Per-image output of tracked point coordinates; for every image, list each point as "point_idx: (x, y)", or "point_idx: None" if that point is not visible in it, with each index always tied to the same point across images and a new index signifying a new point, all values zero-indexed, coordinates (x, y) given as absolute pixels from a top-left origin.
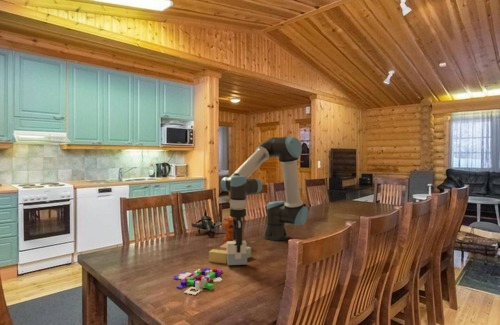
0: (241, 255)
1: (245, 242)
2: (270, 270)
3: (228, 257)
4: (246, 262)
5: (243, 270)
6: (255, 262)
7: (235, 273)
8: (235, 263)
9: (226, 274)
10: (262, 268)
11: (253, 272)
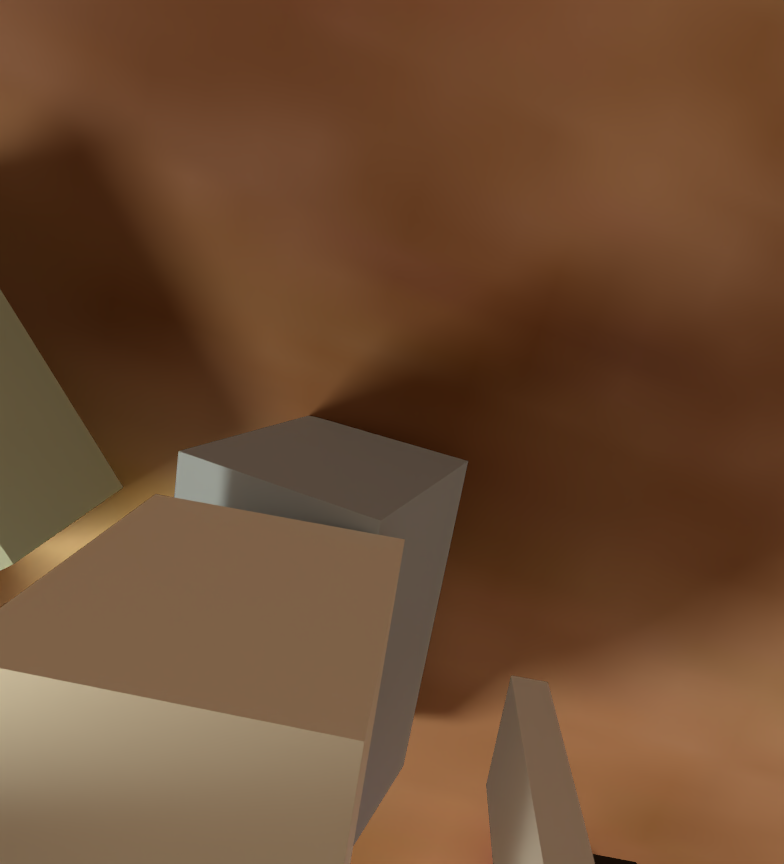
0: None
1: (228, 737)
2: (773, 53)
3: None
4: (453, 481)
5: (574, 545)
6: (262, 205)
7: (646, 692)
8: (416, 670)
9: (631, 811)
10: (610, 181)
11: (726, 417)
